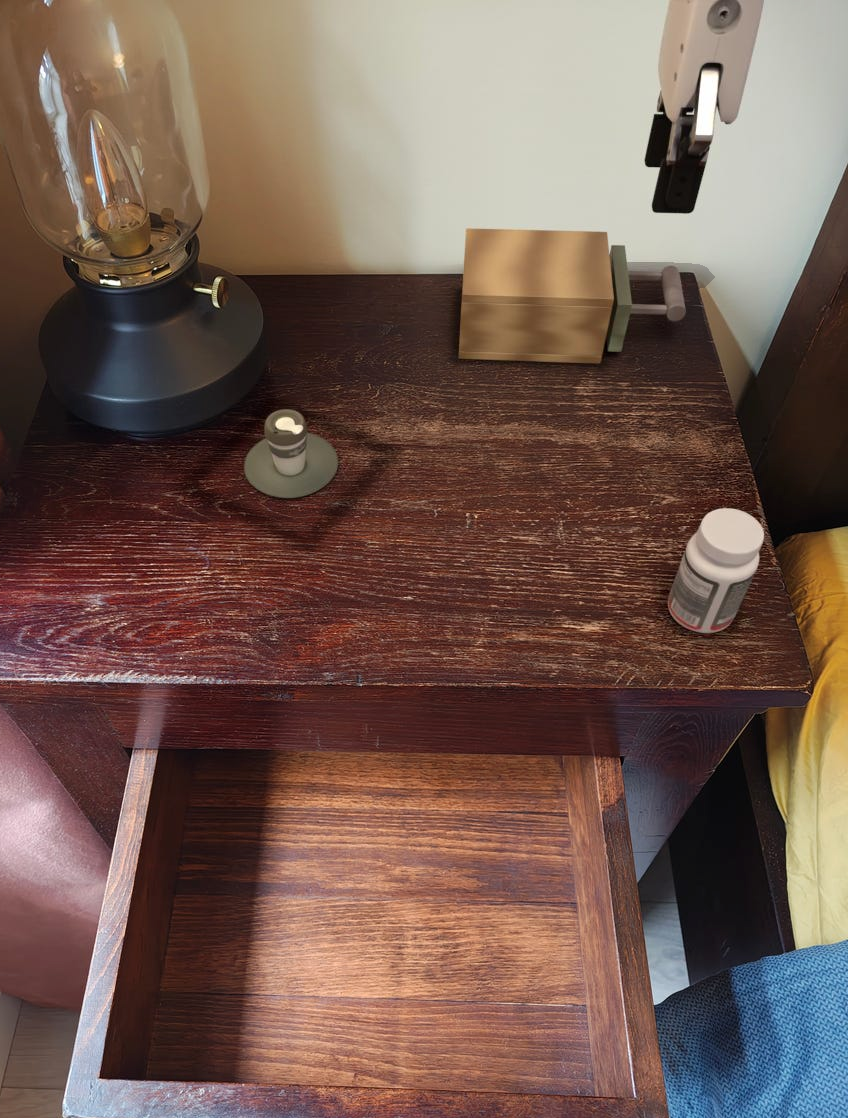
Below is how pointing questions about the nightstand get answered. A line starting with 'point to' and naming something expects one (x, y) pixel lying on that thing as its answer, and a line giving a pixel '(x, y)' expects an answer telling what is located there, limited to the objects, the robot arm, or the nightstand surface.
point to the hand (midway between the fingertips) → (668, 185)
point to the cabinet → (535, 295)
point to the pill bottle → (716, 570)
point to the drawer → (624, 304)
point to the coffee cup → (290, 458)
